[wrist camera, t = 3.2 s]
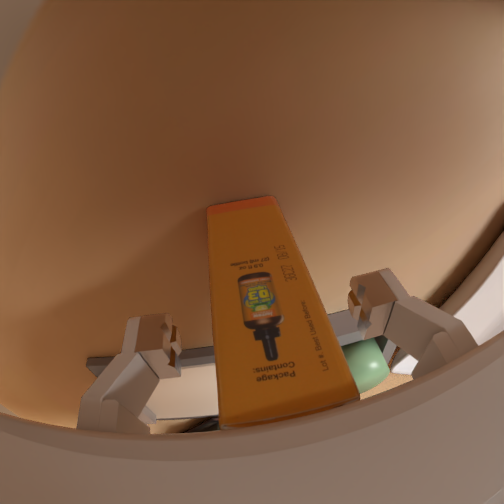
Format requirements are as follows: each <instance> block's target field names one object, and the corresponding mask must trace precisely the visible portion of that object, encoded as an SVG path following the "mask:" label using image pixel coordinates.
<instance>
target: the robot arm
mask: <svg viewBox="0 0 504 504" xmlns="http://www.w3.org/2000/svg"><path fill="white" fill-rule="evenodd" d="M350 287H351V289H352V290H351V291H350V292H349V294H348V307H349V311H350V313H351V315H352V318H354V319H356V320H357V321H358V324H357V328H358V330H359V332H360V334H361V336H362V338H363V340H366V339H370V338H374V337H377V336H380V335H384V336H385V337H386V338H387V339H389V340H390V341H392V342H393V343H394V344H396V345H397V346H398V347H400V348H401V349H402V350H404V351H405V352H406V353H408V354H409V355H410V356H412V357H413V358H414V359H416V360H417V361H418V363H417V364H416V366H415V367H414V369H413V371H412V373H411V375H412V377H413V379H414V380H411V381H409V382H407V383H404V384H402V385H400V386H397V387H395V388H392V389H389V390H387V391H384V392H382V393H379V394H376V395H373V396H371V397H368V398H365V399H362V400H359V401H356V402H353V403H350V404H347V405H343V406H340V407H337V408H333V409H330V410H326V411H322V412H319V413H315V414H311V415H307V416H302V417H298V418H294V419H289V420H284V421H279V422H274V423H269V424H263V425H257V426H251V427H244V428H237V429H229V430H220V431H209V432H196V433H178V434H150V427H149V426H148V425H147V424H145V423H144V422H143V421H141V420H140V419H139V418H138V417H139V415H140V414H141V412H142V410H143V409H144V407H145V405H146V403H147V402H148V400H149V398H150V397H151V395H152V393H153V391H154V390H155V388H156V386H157V385H158V383H159V381H160V380H159V379H167V378H176V377H181V360H180V358H179V357H178V356H179V354H180V353H181V352H182V344H181V337H180V334H179V331H178V329H177V327H175V326H174V325H172V321H173V319H172V317H171V316H170V314H169V313H161V314H153V315H144V316H138V317H130V318H129V319H128V321H127V325H126V330H125V335H124V340H123V345H122V350H121V354H117V355H116V356H115V358H114V359H113V360H112V361H111V362H110V363H109V365H108V366H107V367H106V368H105V369H104V371H103V372H102V373H101V374H100V375H99V377H98V378H97V379H96V380H95V382H94V383H93V384H92V385H91V386H90V388H89V389H88V390H87V391H86V392H85V394H84V395H83V396H82V397H81V403H80V409H79V414H78V421H77V428H76V429H75V428H68V427H62V426H56V425H50V424H45V423H40V422H36V421H31V420H27V419H23V418H19V417H15V416H11V415H8V414H5V413H1V412H0V504H504V330H503V331H501V332H500V333H498V334H497V335H495V336H494V337H492V338H491V339H489V340H488V341H486V342H484V343H483V344H481V345H479V346H478V344H477V343H476V341H475V340H474V338H473V336H472V335H471V333H470V332H469V330H468V329H467V327H466V326H465V325H464V323H463V322H462V321H461V320H459V319H457V318H455V317H454V316H452V315H450V314H448V313H446V312H444V311H442V310H440V309H438V308H436V307H434V306H432V305H430V304H429V303H427V302H425V301H423V300H421V299H419V298H417V297H415V296H411V297H410V296H409V294H408V293H407V291H406V290H405V289H404V287H403V286H402V284H401V283H400V282H399V280H398V279H397V278H396V276H395V275H394V273H393V272H392V271H391V270H390V269H389V268H385V269H381V270H378V271H374V272H370V273H366V274H362V275H358V276H354V277H352V278H351V280H350Z"/></svg>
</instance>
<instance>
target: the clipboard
mask: <svg viewBox="0 0 504 504" xmlns="http://www.w3.org/2000/svg"><path fill="white" fill-rule="evenodd" d="M178 357H179V358H180V360H181V377H176V378H167V379H159V380H160V381H159V383H158V385H157V386H156V388H155V390H154V391H153V393H152V395H151V397H150V398H149V400H148V402H147V403H146V405H145V407H144V409H143V410H142V412H141V414H140V415H139V417H138V418H139V419H140V420H141V421H143V422H144V423H145V424H156V420H175V419H192V418H204V417H214V416H218V415H219V411H218V393H217V380H216V367H215V355H214V346H211V347H204V348H197V349H190V350H182V352H181V353H180V354H179V356H178ZM114 358H115V357H103V358H88V360H87V364H86V367H87V368H88V369H89V370H90V371H91V372H92V373H93V374H94V375H95V376H96V377H97V378H98V377H99V375H100V374H101V373H102V372H103V371H104V369H105V368H106V367H107V366H108V365H109V363H110V362H111V361H112V360H113V359H114Z"/></svg>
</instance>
